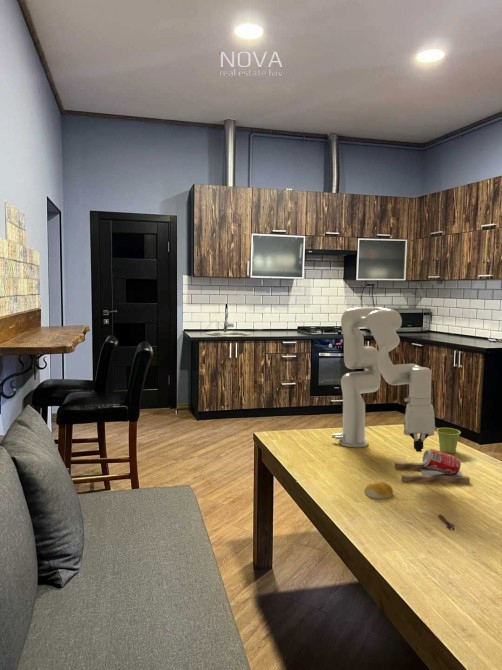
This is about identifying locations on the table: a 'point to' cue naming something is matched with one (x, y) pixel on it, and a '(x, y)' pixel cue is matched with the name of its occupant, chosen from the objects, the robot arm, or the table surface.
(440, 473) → the pad
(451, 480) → the walnut rails
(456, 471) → the soda can
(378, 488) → the bread roll
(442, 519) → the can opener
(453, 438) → the plant pot
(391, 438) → the table surface
